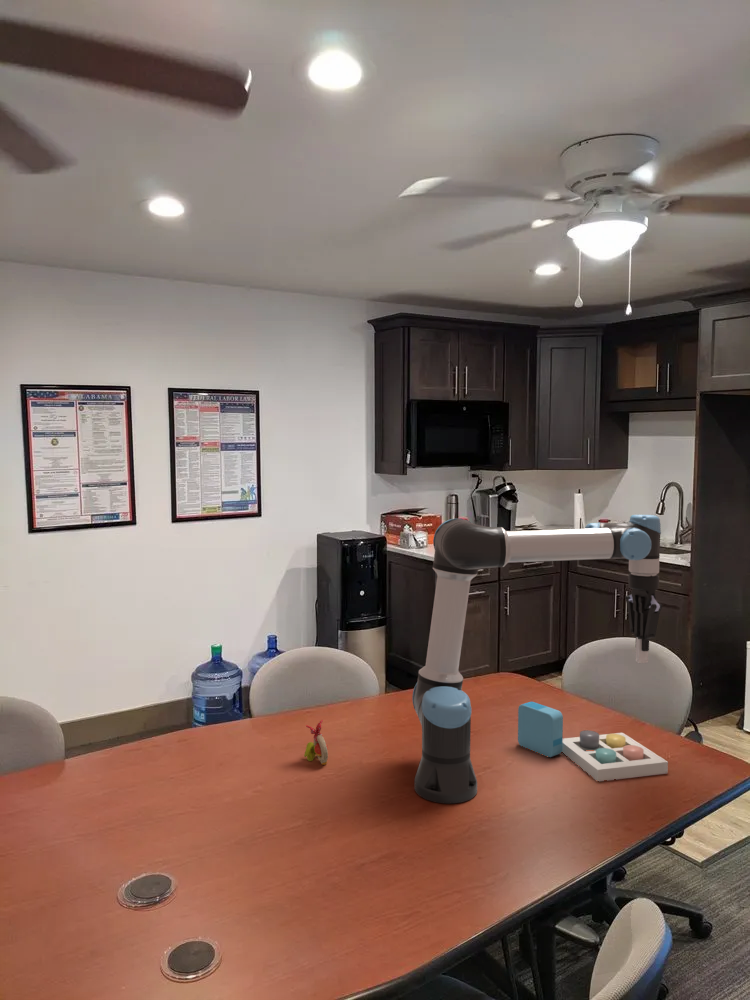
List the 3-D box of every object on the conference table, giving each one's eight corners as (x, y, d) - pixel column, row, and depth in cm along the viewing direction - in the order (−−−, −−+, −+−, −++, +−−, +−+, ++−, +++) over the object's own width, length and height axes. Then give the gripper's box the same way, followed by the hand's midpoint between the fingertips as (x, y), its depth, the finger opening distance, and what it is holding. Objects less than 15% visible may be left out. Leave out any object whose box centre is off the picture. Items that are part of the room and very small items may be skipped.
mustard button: (612, 753, 190) (612, 741, 190) (602, 746, 195) (602, 734, 194) (629, 751, 191) (629, 740, 191) (618, 744, 196) (618, 733, 196)
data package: (562, 755, 192) (563, 711, 191) (552, 759, 189) (552, 715, 188) (527, 741, 201) (528, 699, 200) (517, 745, 198) (517, 703, 198)
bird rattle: (334, 769, 187) (320, 745, 194) (342, 737, 183) (327, 713, 190) (313, 775, 184) (299, 750, 191) (320, 742, 180) (306, 718, 187)
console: (597, 781, 176) (597, 769, 176) (557, 749, 195) (558, 739, 195) (667, 773, 181) (667, 761, 181) (622, 743, 200) (622, 732, 200)
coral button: (630, 765, 182) (630, 753, 182) (619, 757, 187) (619, 746, 187) (647, 763, 183) (647, 751, 183) (635, 756, 188) (636, 744, 188)
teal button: (602, 769, 180) (602, 756, 180) (591, 761, 185) (592, 749, 185) (619, 767, 181) (620, 754, 181) (608, 759, 186) (609, 747, 186)
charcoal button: (585, 750, 188) (586, 738, 188) (576, 742, 193) (576, 731, 192) (602, 748, 189) (603, 736, 189) (592, 741, 194) (592, 729, 194)
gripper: (672, 577, 181) (670, 668, 182) (641, 569, 193) (639, 654, 195) (646, 578, 179) (644, 670, 180) (617, 570, 192) (615, 656, 193)
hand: (641, 662), depth 187 cm, fingers closed
